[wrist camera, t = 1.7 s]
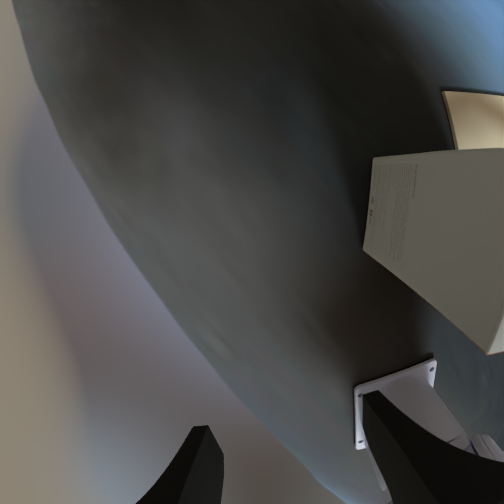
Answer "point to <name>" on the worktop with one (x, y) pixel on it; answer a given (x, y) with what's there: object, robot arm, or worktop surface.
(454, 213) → the small box
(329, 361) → the worktop surface
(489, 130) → the board
